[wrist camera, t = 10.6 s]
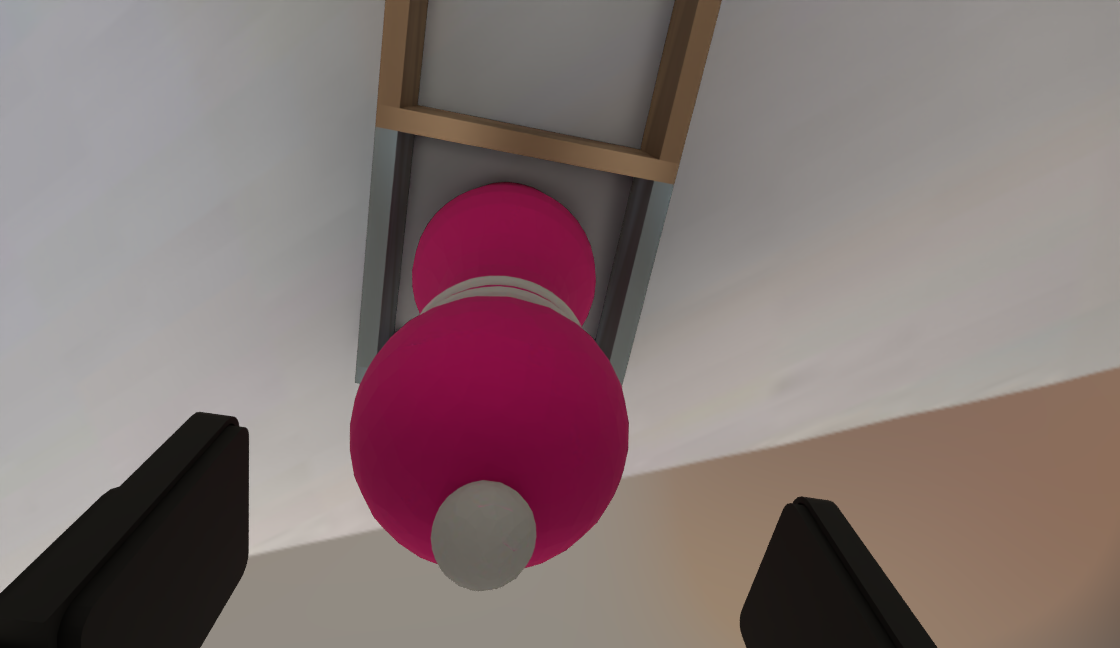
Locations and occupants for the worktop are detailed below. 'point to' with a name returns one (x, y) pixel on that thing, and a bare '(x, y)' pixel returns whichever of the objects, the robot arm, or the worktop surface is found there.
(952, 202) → the worktop surface
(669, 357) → the worktop surface
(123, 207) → the worktop surface
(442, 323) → the pepper mill
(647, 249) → the organizer
